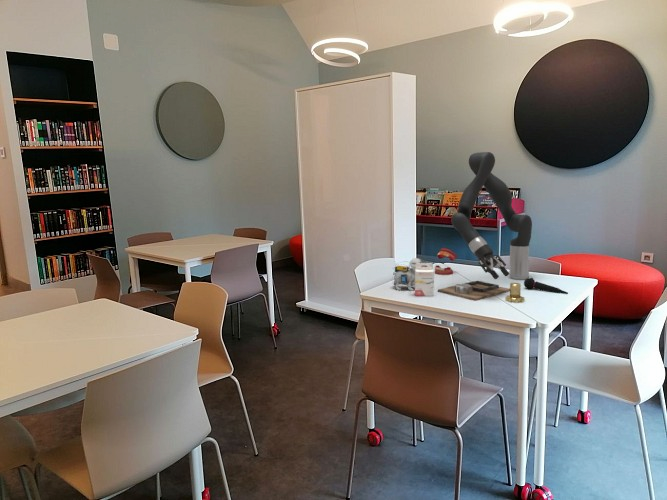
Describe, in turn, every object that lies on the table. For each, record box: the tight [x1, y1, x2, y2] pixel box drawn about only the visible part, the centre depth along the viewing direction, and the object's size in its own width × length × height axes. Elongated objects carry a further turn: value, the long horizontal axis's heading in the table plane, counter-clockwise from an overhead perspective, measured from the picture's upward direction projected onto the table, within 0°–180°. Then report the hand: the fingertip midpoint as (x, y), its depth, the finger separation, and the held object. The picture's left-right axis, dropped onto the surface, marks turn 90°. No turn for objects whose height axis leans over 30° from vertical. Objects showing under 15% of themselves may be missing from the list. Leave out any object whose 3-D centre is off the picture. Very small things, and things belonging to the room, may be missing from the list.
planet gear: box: [505, 282, 525, 304], centre depth 216 cm, size 8×8×8 cm
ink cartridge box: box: [414, 262, 435, 297], centre depth 230 cm, size 9×5×15 cm, turn 84°
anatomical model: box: [434, 247, 458, 276], centre depth 275 cm, size 10×8×15 cm
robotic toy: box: [391, 257, 427, 292], centre depth 243 cm, size 13×17×15 cm
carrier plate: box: [437, 280, 510, 302], centre depth 234 cm, size 26×22×4 cm
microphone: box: [523, 277, 569, 295], centre depth 232 cm, size 6×6×20 cm
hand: (502, 276), depth 220 cm, fingers open, 8 cm apart
